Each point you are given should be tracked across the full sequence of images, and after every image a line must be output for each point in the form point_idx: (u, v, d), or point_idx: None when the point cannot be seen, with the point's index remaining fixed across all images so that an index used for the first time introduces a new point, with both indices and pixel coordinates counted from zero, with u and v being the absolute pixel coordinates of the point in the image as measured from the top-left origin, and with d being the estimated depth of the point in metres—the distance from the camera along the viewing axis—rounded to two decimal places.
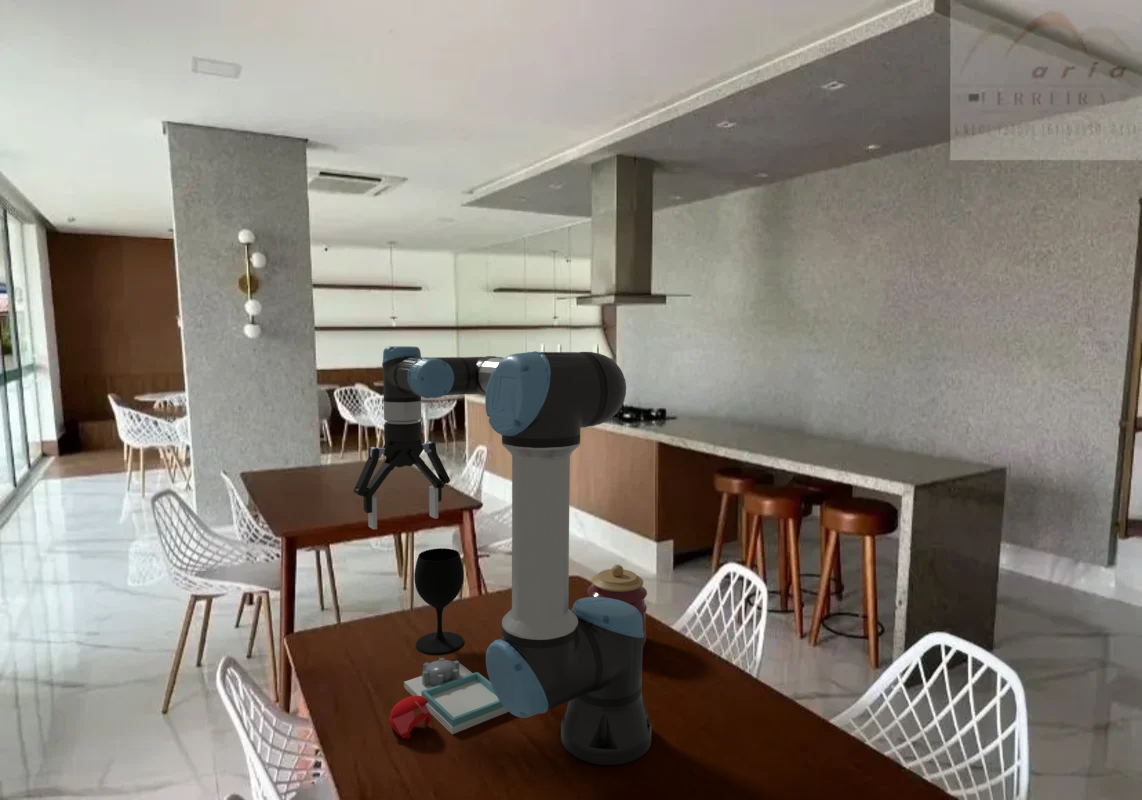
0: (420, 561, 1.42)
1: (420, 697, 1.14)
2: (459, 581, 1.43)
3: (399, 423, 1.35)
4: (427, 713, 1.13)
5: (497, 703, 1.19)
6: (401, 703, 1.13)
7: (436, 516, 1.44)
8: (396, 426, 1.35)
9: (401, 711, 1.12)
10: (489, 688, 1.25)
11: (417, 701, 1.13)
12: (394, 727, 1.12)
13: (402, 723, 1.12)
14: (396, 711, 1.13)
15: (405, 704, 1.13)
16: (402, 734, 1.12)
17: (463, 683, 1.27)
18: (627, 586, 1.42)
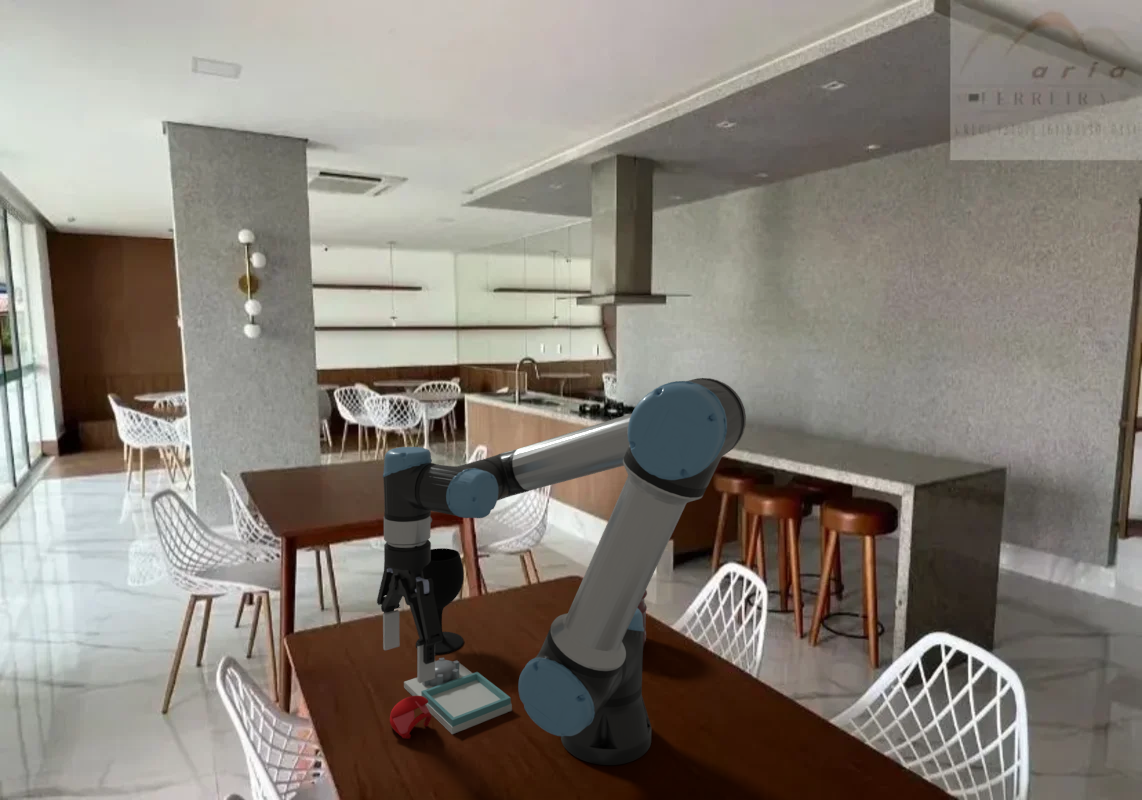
0: None
1: (420, 697, 1.14)
2: (459, 581, 1.43)
3: None
4: (427, 713, 1.13)
5: (497, 703, 1.19)
6: (401, 703, 1.13)
7: (418, 679, 1.08)
8: (387, 542, 1.12)
9: (401, 711, 1.12)
10: (489, 688, 1.25)
11: (417, 701, 1.13)
12: (394, 727, 1.12)
13: (402, 723, 1.12)
14: (396, 711, 1.13)
15: (405, 704, 1.13)
16: (402, 734, 1.12)
17: (463, 683, 1.27)
18: None
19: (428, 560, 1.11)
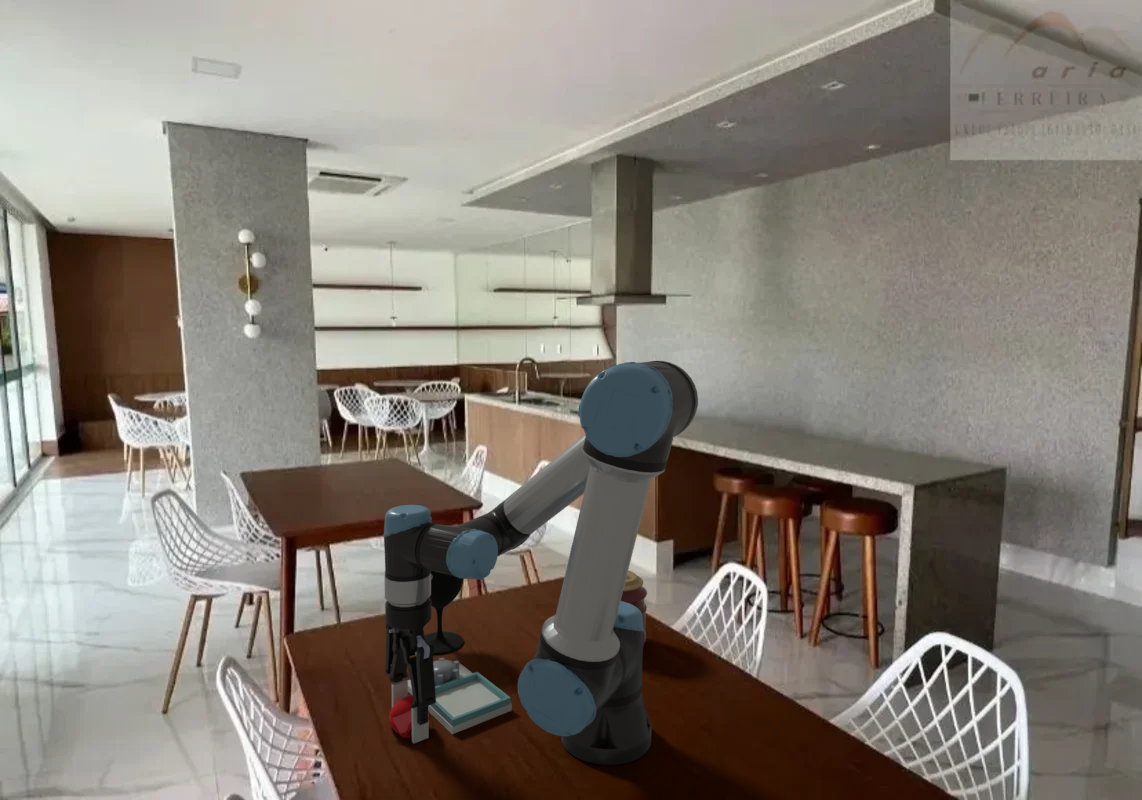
0: None
1: None
2: (459, 581, 1.43)
3: None
4: None
5: (497, 703, 1.19)
6: (401, 702, 1.13)
7: (412, 739, 1.11)
8: None
9: (401, 710, 1.12)
10: (489, 688, 1.25)
11: None
12: (394, 726, 1.12)
13: (401, 722, 1.12)
14: (396, 710, 1.13)
15: (405, 703, 1.13)
16: (402, 733, 1.12)
17: (463, 683, 1.27)
18: (627, 586, 1.42)
19: (429, 618, 1.12)
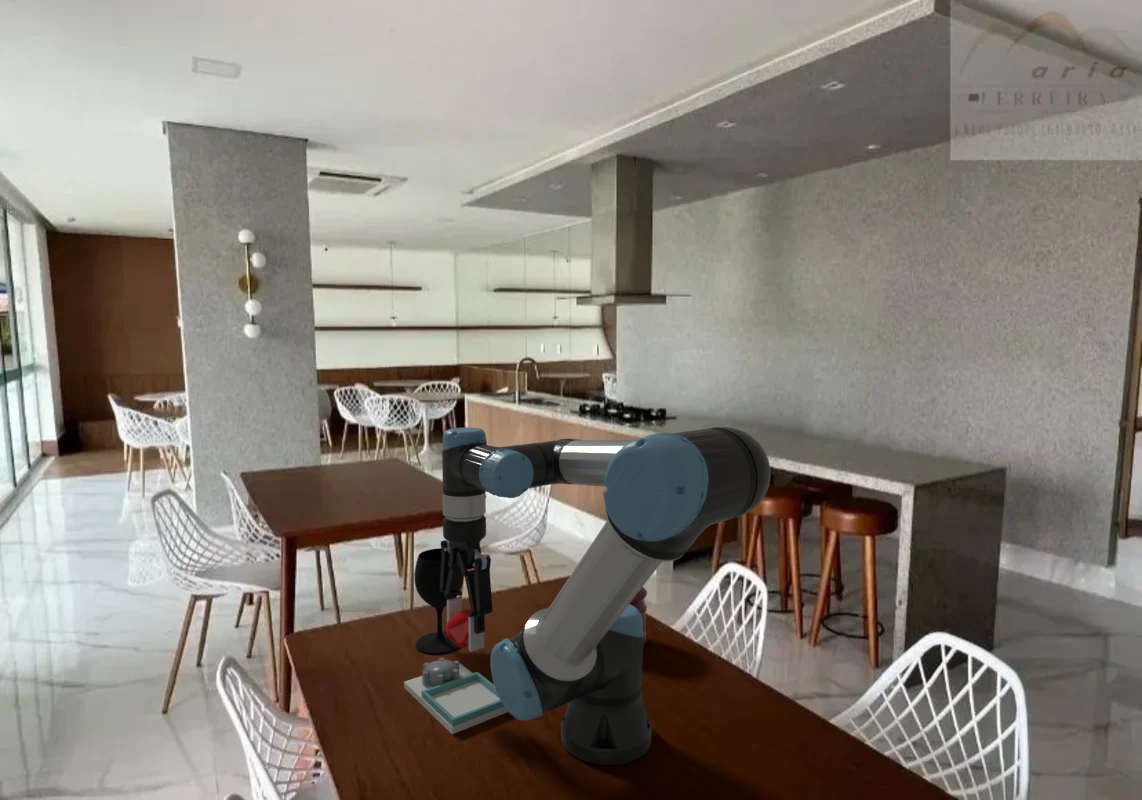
0: (420, 561, 1.42)
1: None
2: None
3: None
4: None
5: (497, 703, 1.19)
6: (457, 615, 1.19)
7: (469, 648, 1.17)
8: (445, 517, 1.19)
9: (458, 622, 1.18)
10: (489, 688, 1.25)
11: None
12: (451, 637, 1.18)
13: (458, 632, 1.18)
14: (452, 622, 1.19)
15: (461, 615, 1.19)
16: (459, 643, 1.18)
17: (463, 683, 1.27)
18: None
19: (484, 533, 1.18)
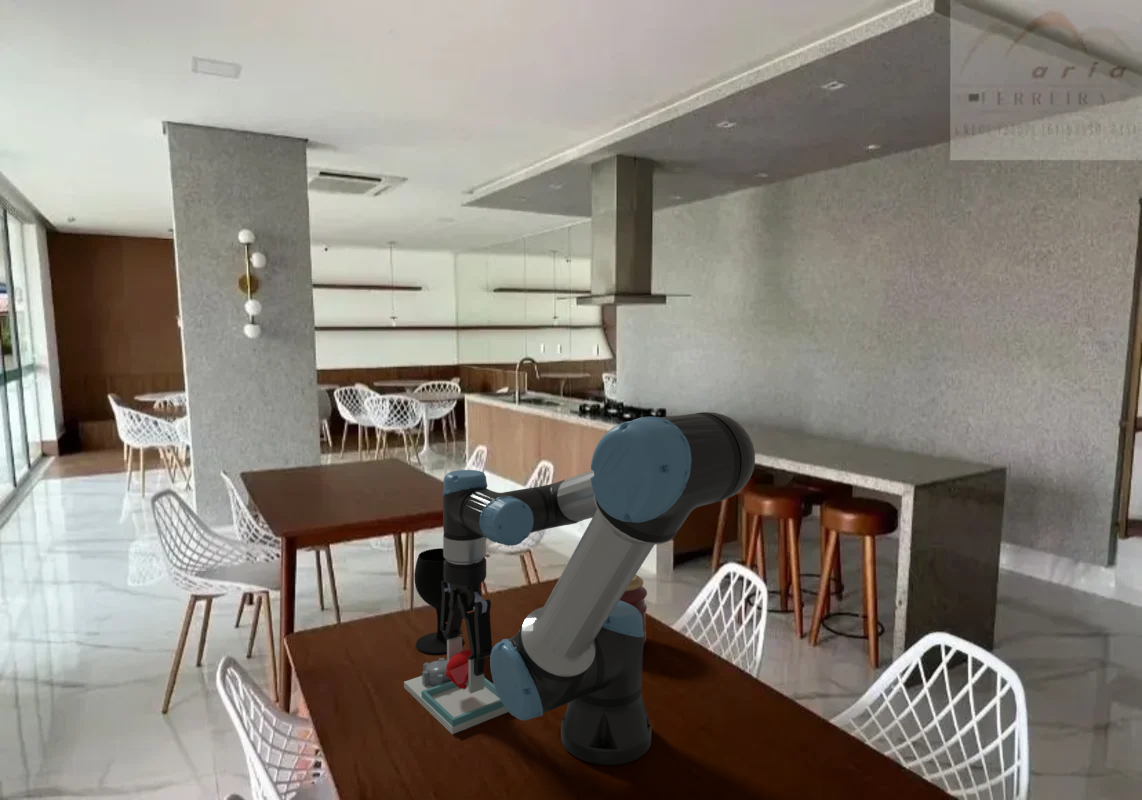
0: (420, 561, 1.42)
1: None
2: None
3: None
4: None
5: (497, 703, 1.19)
6: (457, 656, 1.20)
7: (469, 690, 1.18)
8: (445, 559, 1.20)
9: (458, 663, 1.19)
10: (489, 688, 1.25)
11: None
12: (451, 678, 1.19)
13: (458, 674, 1.19)
14: (453, 663, 1.20)
15: (461, 657, 1.20)
16: (459, 684, 1.19)
17: None
18: None
19: (484, 576, 1.19)
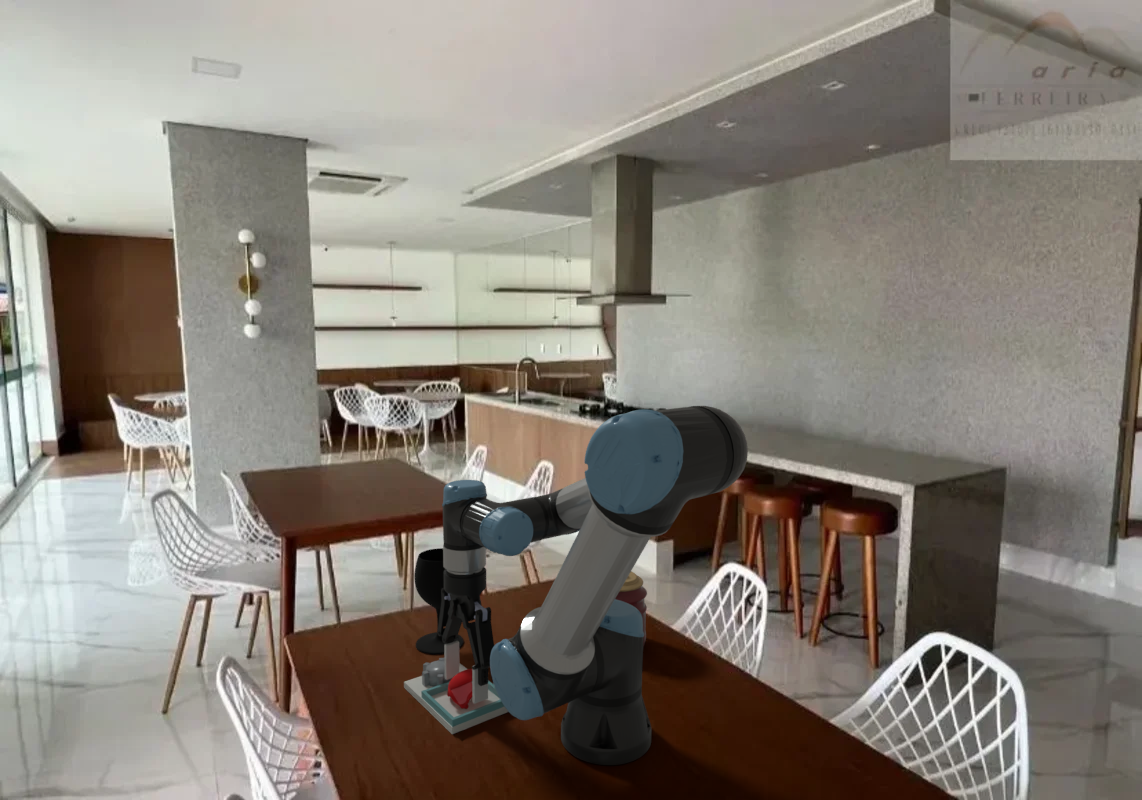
0: (420, 561, 1.42)
1: None
2: None
3: None
4: None
5: (497, 703, 1.19)
6: (459, 675, 1.20)
7: (473, 700, 1.17)
8: (445, 569, 1.20)
9: (459, 683, 1.19)
10: (489, 688, 1.25)
11: None
12: (453, 698, 1.19)
13: (460, 694, 1.19)
14: (454, 683, 1.20)
15: (463, 676, 1.20)
16: (461, 704, 1.18)
17: None
18: (627, 586, 1.42)
19: (484, 586, 1.19)
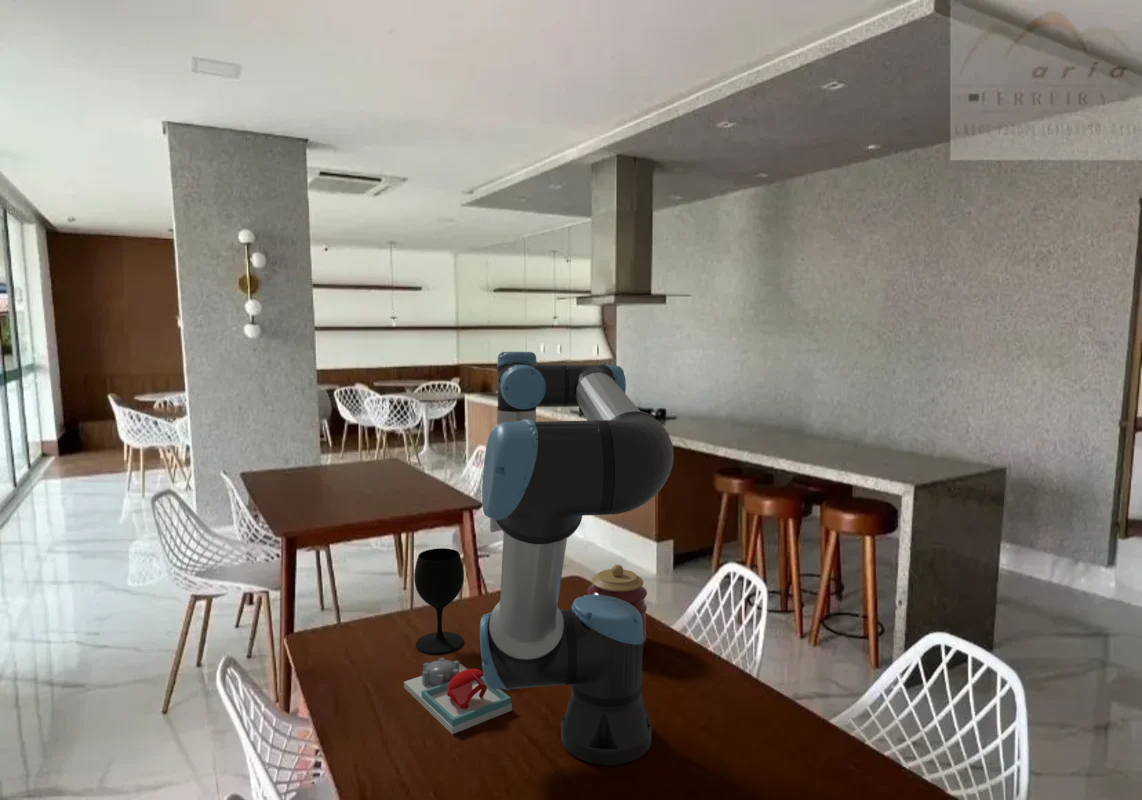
0: (420, 561, 1.42)
1: (476, 670, 1.21)
2: (459, 581, 1.43)
3: None
4: (483, 685, 1.20)
5: (497, 703, 1.19)
6: (459, 675, 1.20)
7: None
8: None
9: (459, 683, 1.19)
10: (489, 688, 1.25)
11: (474, 673, 1.20)
12: (453, 698, 1.19)
13: (460, 694, 1.19)
14: (454, 683, 1.20)
15: (463, 676, 1.20)
16: (461, 704, 1.18)
17: None
18: (627, 586, 1.42)
19: None
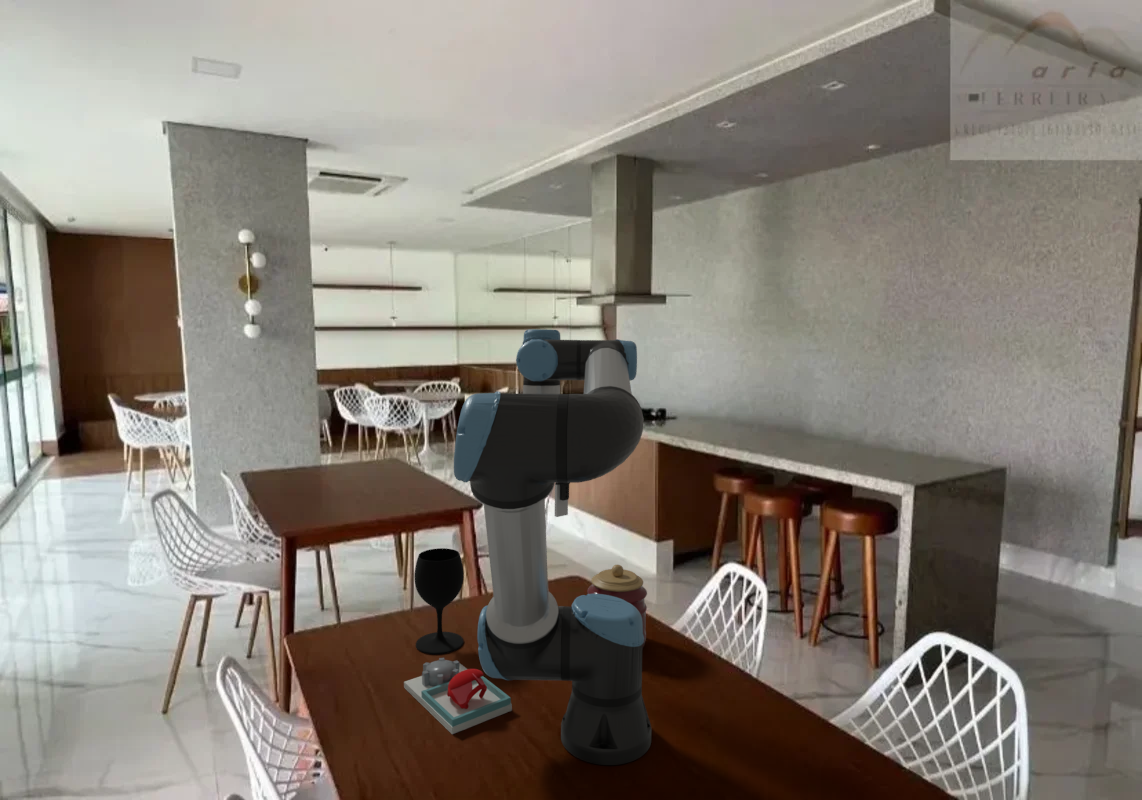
0: (420, 561, 1.42)
1: (476, 670, 1.21)
2: (459, 581, 1.43)
3: None
4: (483, 685, 1.20)
5: (497, 703, 1.19)
6: (459, 675, 1.20)
7: (555, 514, 1.32)
8: None
9: (459, 683, 1.19)
10: (489, 688, 1.25)
11: (474, 673, 1.20)
12: (453, 698, 1.19)
13: (460, 694, 1.19)
14: (454, 683, 1.20)
15: (463, 676, 1.20)
16: (461, 704, 1.18)
17: None
18: (627, 586, 1.42)
19: None
